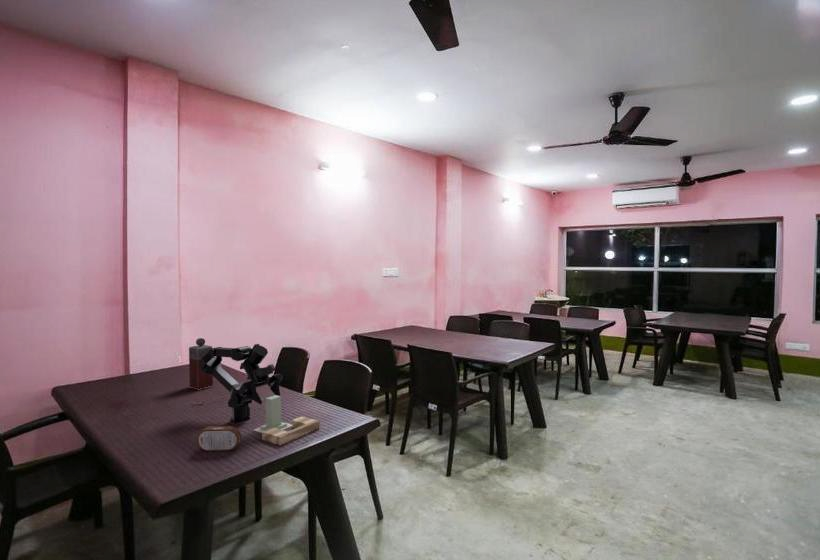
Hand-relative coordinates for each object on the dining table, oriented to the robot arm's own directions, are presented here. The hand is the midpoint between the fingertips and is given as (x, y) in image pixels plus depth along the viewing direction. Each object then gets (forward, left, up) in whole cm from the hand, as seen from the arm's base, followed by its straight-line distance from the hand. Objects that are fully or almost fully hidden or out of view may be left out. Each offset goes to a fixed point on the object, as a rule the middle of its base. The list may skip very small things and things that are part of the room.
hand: (270, 400), depth 171 cm
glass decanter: (-8, +88, -11) cm, 89 cm away
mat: (0, -2, -11) cm, 11 cm away
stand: (+3, -11, -11) cm, 16 cm away
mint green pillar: (0, -2, -11) cm, 11 cm away
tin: (-23, -9, -11) cm, 27 cm away
